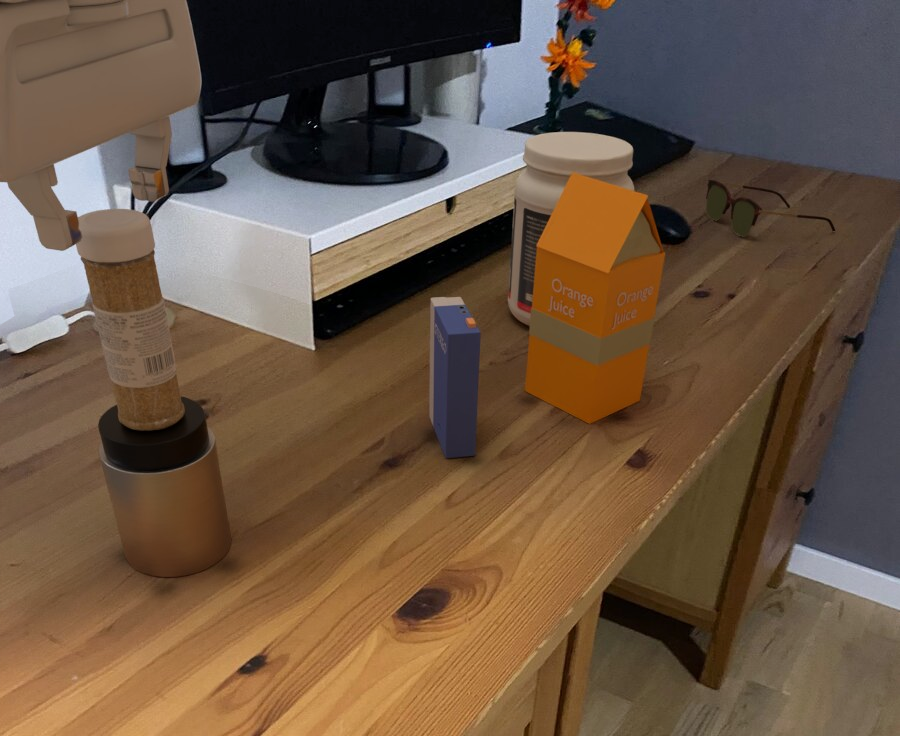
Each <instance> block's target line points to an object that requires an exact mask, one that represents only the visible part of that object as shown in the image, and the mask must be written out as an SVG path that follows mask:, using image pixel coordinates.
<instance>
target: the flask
mask: <svg viewBox="0 0 900 736" xmlns="http://www.w3.org/2000/svg"><path fill="white" fill-rule="evenodd" d="M180 397H181V401H182V403H183V405H184V409H185V412H184V415H183V417H182V418H181V419H180V420H179V421H178V422H176V423H175V424H173V425H172V426H169V427H167V428H164V429H159V430H152V431H146V430H144V431H140V430H134V429H131V428H128V427H126V426H125V425H124V424H122V423H121V422H120V421H119V418H118V407H117V404H115V405H113V406H112V407H110V408H108V409H107V410H106V411H105V412H104V413H102V415H101V416H100V418H99V420H98V424H97V428H98V433H99V436H100V440H101V443H100V445H99V448H98V456H99V460H100V464H101V468H102V473H103V476H104V480H105V484H106V487H107V492H108V494H109V499H110V503H111V506H112V511H113V514H114V518H115V522H116V526H117V530H118V534H119V538H120V542H121V546H122V550H123V553H124V557H125V560H126V561H127V563H128V565H130V566H131V567H132V568H133V569H135V570H136V571H138V572H140V573H143V574H145V575H148V576H152V577H158V578H180V577H185V576H190V575H193V574H197V573H200V572H202V571H205V570H208V569H209V568H211V567H213V566H214V565H216V564H217V563H219V562H220V561H221V560H222V559H223V558H224V557H225V556H226V555H227V553H228V552H229V550H230V548H231V545H232V535H231V529H230V522H229V517H228V510H227V504H226V499H225V497H226V496H225V492H224V486H223V485H224V484H223V479H222V473H221V467H220V461H219V460H220V459H219V455H218V449H217V448H218V447H217V442H216V437H215V434H214V432H213V431H212V429H211V428H210V427H209V426H208V422H207V417H206V411H205V409H204V407H203V406H202V405H201V404H200V403H198V401H195V400H193V399H191V398H189V397H185V396H181V395H180Z"/></svg>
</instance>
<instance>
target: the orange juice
mask: <svg viewBox="0 0 900 736" xmlns="http://www.w3.org/2000/svg"><path fill="white" fill-rule="evenodd" d="M536 246H537V252H536V264H535V276H534V288H533V300H532V308H531V317H530V326H529V330H528V335H529V336H528V349H527V360H526V361H527V362H526V372H525V385H524V392H525V393H528V394H530V395H532V396H534V397H536V398H538V399H540V400H542V401H544V402H545V403H547V404H550V405H551V406H553V407H555V408H556V409H559V410H561V411H562V412H565V413H567V414H569V415H571V416H573V417H575V418H577V419H579V420H580V421H583V422H584V423H587V424H589V425H590V424H592V423H595V422H597V421H600V420H602V419H603V418H606V417H608V416H610V415H612V414H615V413H616V412H618V411H621V410H623V409H625V408H627V407H630V406H631V405H635V404H636V403H638V402H640V401H641V396H642V391H643V384H644V379H645V373H646V369H647V368H646V367H647V361H648V356H649V350H650V344H651V341H652V336H653V331H654V326H655V325H654V324H655V316H656V309H657V303H658V298H659V293H660V287H661V281H662V274H663V268H664V263H665V259H666V252H664V248H663V245H662V242H661V239H660V235H659V232H658V228H657V225H656V221H655V218H654V214H653V211H652V208H651V205H650V202H649V194H644V193H642V192H638V191H636V190H635V191H632V190H629V189H626V188H622V187H619V186H616V185H613V184H609V183H606V182H603V181H600V180H596V179H593V178H590V177H587V176H583V175H580V174H577V173H573V172H572V174H571V176H570V178H569V180H568V182H567V184H566V186H565V188H564V190H563V192H562V194H561V196H560V198H559V200H558V203H557V205H556V207H555V209H554V211H553V213H552V215H551V217H550V219H549V221H548V223H547V225H546V227H545V229H544V231H543V233H542V235H541V237H540V239H539V241H538V243H537V245H536Z"/></svg>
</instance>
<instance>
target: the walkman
mask: <svg viewBox="0 0 900 736" xmlns="http://www.w3.org/2000/svg"><path fill="white" fill-rule="evenodd" d="M429 313H430V315H429V316H430V317H429V319H430V320H429V321H430V322H429V323H430V327H429V329H430V332H429V333H430V334H429V337H430V338H429V397H428V398H429V401H428V402H429V404H428V406H429V407H428V408H429V409H428V410H429V411H428V414H429V420H430V422H431V425H432V428H433V430H434V433H435V436H436V437H437V440H438V443H439V446H440V448H441V450H442V453H443V455H444V458H445V459H453V458H455V459H456V458H464V457H475V456H476V448H477V447H476V446H477V427H478V426H477V425H478V424H477V423H478V406H479V405H478V403H479V402H478V401H479V381H480V379H479V378H480V359H481V337H482V336H481V335H482V332H481V329H479V327H478V325H477V322H476V321H475V318H474V317H473V316H472V313H471V312H470V310H469V309H468V307H467V305H466V304H465V302H464V300H463V299H462V297H461V296H453V297H450V296H449V297H446V296H438V297H431V298H430V312H429Z"/></svg>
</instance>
